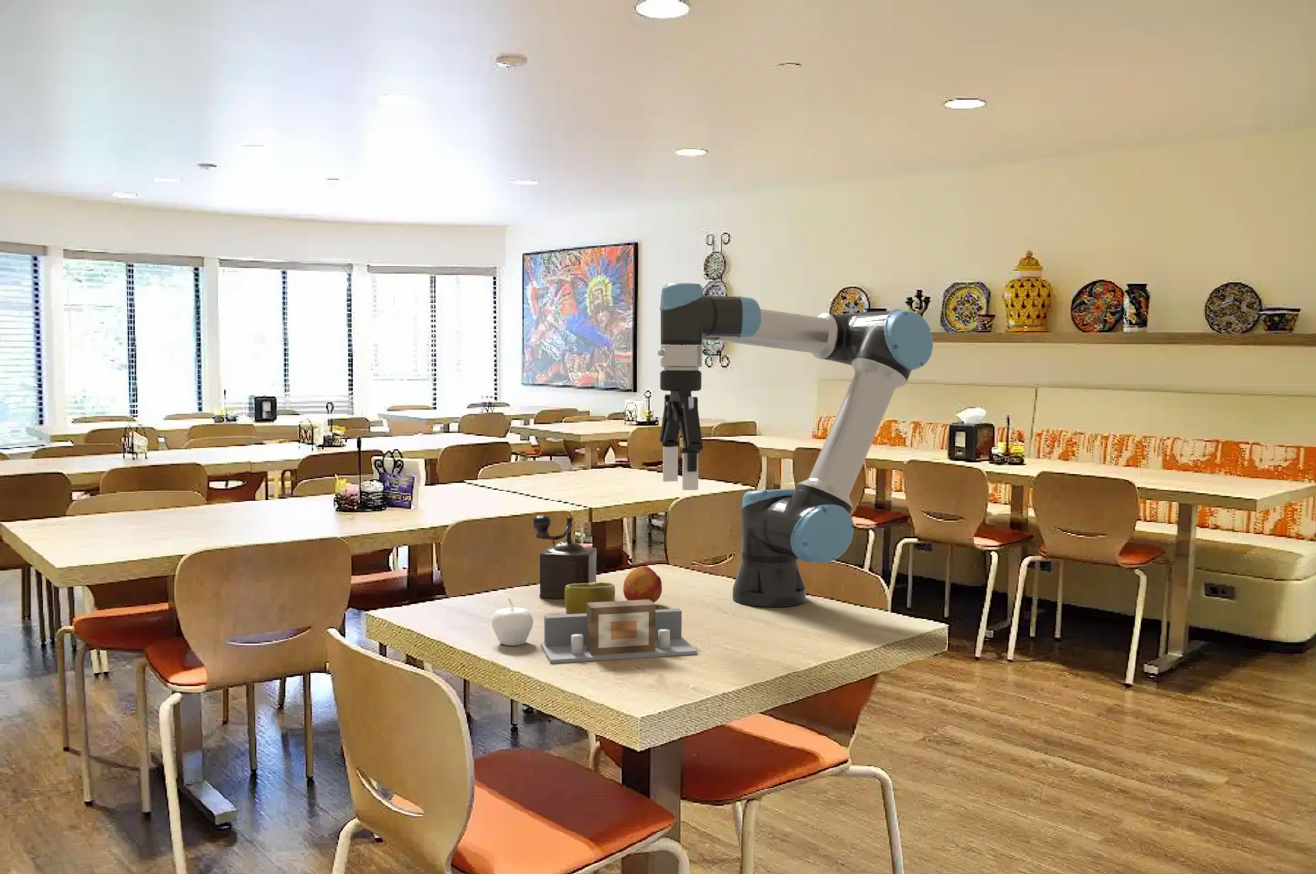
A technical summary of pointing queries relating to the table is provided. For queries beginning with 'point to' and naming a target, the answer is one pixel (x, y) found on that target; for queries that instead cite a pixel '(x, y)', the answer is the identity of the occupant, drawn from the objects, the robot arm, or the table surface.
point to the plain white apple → (512, 625)
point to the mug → (587, 595)
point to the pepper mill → (563, 561)
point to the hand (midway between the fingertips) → (679, 485)
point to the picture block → (620, 627)
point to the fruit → (642, 585)
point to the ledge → (570, 645)
